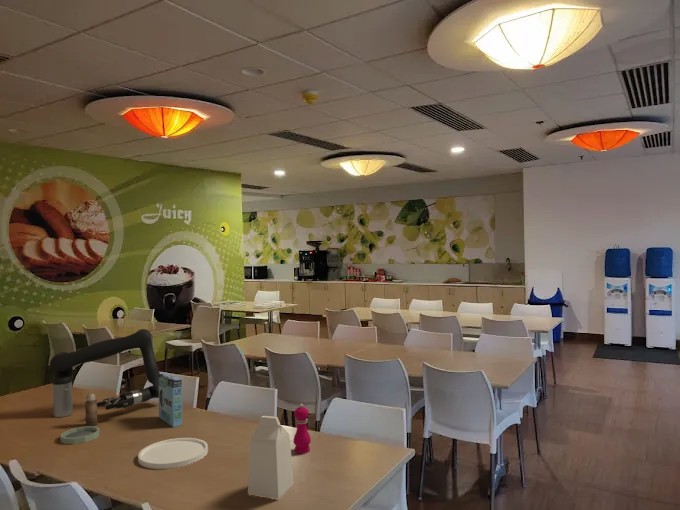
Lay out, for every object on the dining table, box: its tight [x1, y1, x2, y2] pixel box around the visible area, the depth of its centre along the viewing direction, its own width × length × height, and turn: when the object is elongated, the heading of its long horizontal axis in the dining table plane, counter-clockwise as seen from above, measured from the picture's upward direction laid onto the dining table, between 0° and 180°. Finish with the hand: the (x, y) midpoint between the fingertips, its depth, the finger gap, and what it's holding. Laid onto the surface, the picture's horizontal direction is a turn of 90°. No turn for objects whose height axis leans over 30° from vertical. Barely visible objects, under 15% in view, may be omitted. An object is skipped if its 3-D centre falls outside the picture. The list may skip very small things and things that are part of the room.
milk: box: [247, 415, 294, 500], centre depth 180 cm, size 12×12×26 cm
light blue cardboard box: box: [158, 372, 183, 428], centre depth 257 cm, size 20×5×23 cm, turn 39°
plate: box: [137, 437, 209, 470], centre depth 214 cm, size 28×28×2 cm
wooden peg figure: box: [84, 392, 98, 427], centre depth 255 cm, size 5×5×16 cm
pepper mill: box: [293, 403, 312, 455], centre depth 215 cm, size 7×7×20 cm
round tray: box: [59, 425, 100, 445], centre depth 238 cm, size 16×16×2 cm
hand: (101, 406), depth 259 cm, fingers open, 8 cm apart
